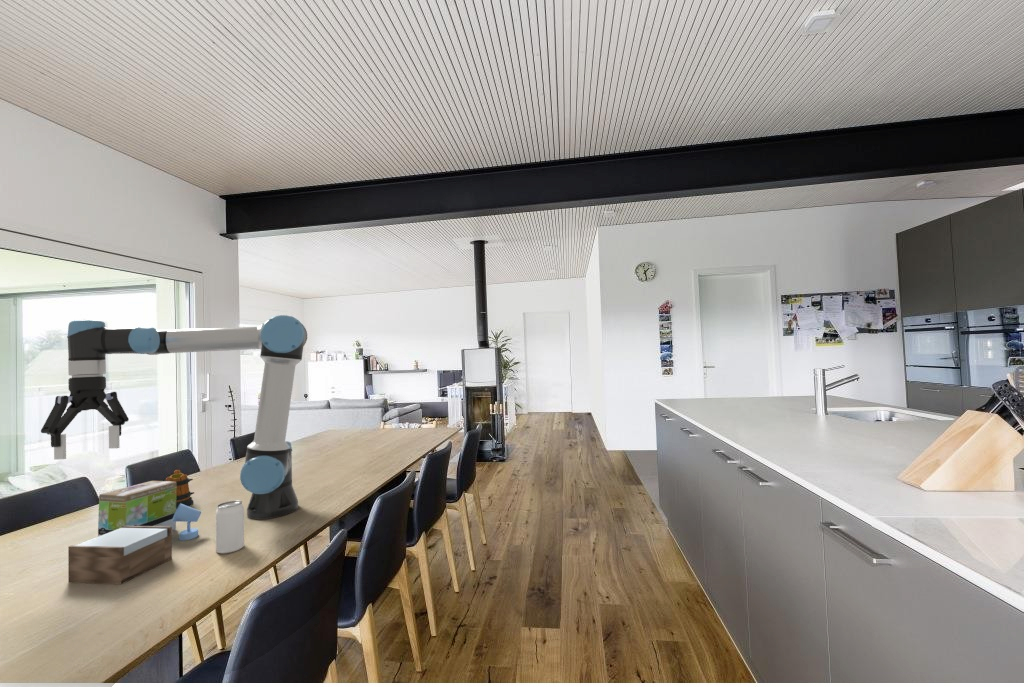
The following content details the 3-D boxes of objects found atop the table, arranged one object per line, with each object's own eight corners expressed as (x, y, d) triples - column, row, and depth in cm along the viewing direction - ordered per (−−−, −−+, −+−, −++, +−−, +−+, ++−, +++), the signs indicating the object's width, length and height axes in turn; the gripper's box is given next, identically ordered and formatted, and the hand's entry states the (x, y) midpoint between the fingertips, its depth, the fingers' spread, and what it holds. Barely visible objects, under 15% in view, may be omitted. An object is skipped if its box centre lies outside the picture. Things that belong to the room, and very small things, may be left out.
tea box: (126, 550, 122) (125, 495, 122) (96, 548, 124) (96, 494, 124) (177, 529, 136) (177, 480, 137) (150, 527, 138) (150, 479, 139)
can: (250, 545, 122) (249, 501, 122) (228, 555, 116) (227, 508, 116) (232, 543, 124) (232, 499, 124) (209, 552, 118) (209, 506, 118)
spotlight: (171, 543, 125) (201, 536, 129) (171, 507, 125) (201, 501, 130) (172, 538, 129) (201, 531, 133) (171, 503, 129) (200, 498, 134)
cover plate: (167, 536, 114) (167, 528, 114) (124, 555, 103) (124, 547, 103) (121, 535, 116) (121, 527, 116) (74, 554, 105) (74, 545, 105)
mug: (194, 506, 158) (194, 473, 158) (157, 513, 152) (157, 478, 152) (194, 497, 168) (194, 466, 169) (159, 503, 162) (159, 471, 163)
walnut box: (171, 558, 115) (171, 526, 115) (121, 584, 102) (121, 548, 102) (124, 557, 117) (124, 525, 117) (68, 582, 104) (68, 546, 104)
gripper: (121, 374, 136) (122, 444, 136) (20, 379, 112) (21, 464, 111) (143, 373, 135) (144, 444, 135) (45, 378, 111) (46, 464, 110)
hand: (88, 453), depth 123 cm, fingers open, 13 cm apart
